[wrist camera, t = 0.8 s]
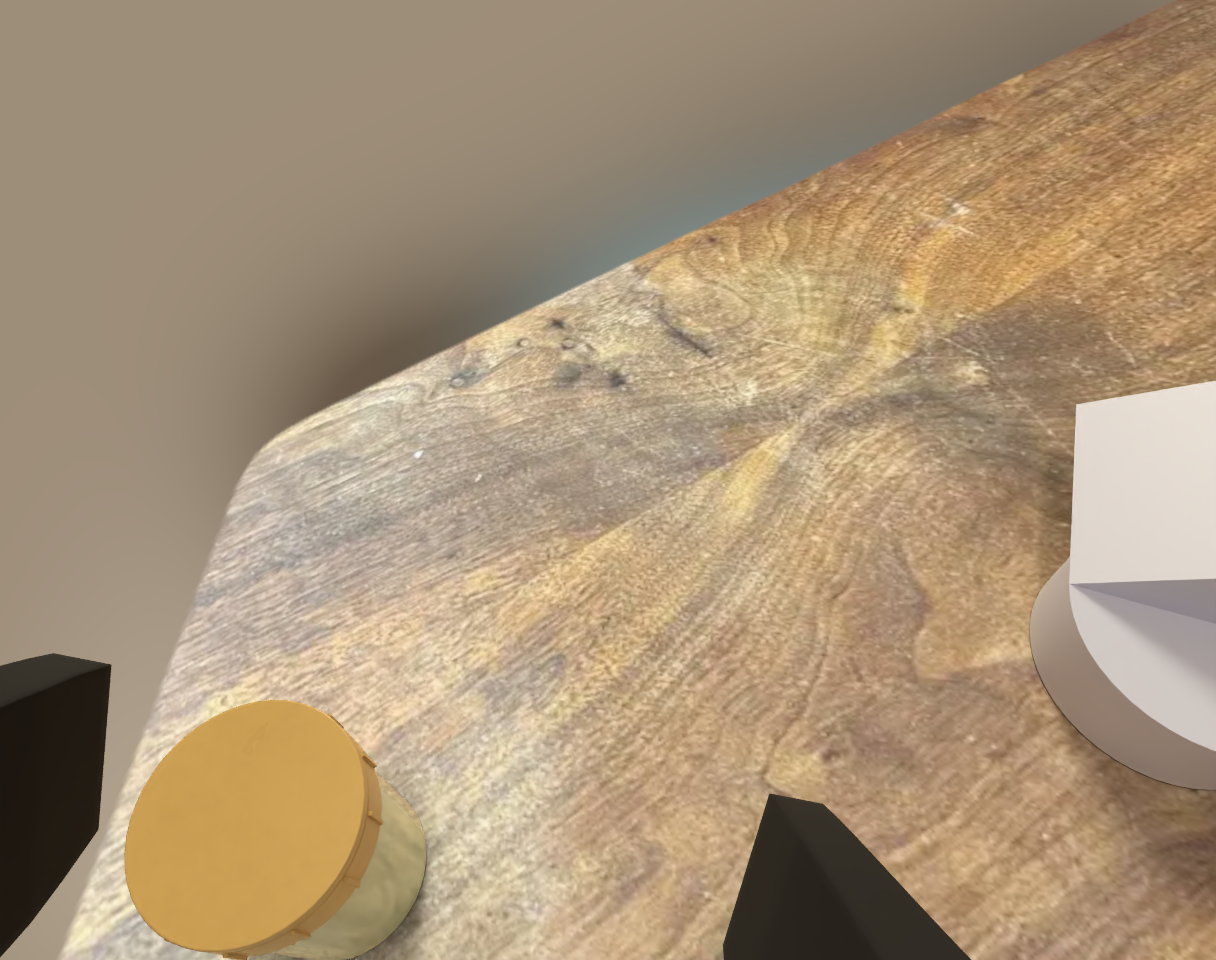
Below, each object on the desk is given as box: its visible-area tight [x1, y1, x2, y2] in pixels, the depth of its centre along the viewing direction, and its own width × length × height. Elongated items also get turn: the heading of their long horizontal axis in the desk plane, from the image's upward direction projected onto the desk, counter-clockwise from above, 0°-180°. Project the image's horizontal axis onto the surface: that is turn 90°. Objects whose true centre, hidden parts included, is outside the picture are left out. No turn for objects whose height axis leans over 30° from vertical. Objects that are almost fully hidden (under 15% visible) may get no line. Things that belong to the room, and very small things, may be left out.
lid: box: [124, 700, 384, 960], centre depth 20 cm, size 6×6×2 cm
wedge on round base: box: [1030, 381, 1216, 790], centre depth 27 cm, size 9×7×13 cm
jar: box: [271, 771, 426, 960], centre depth 23 cm, size 5×5×7 cm
